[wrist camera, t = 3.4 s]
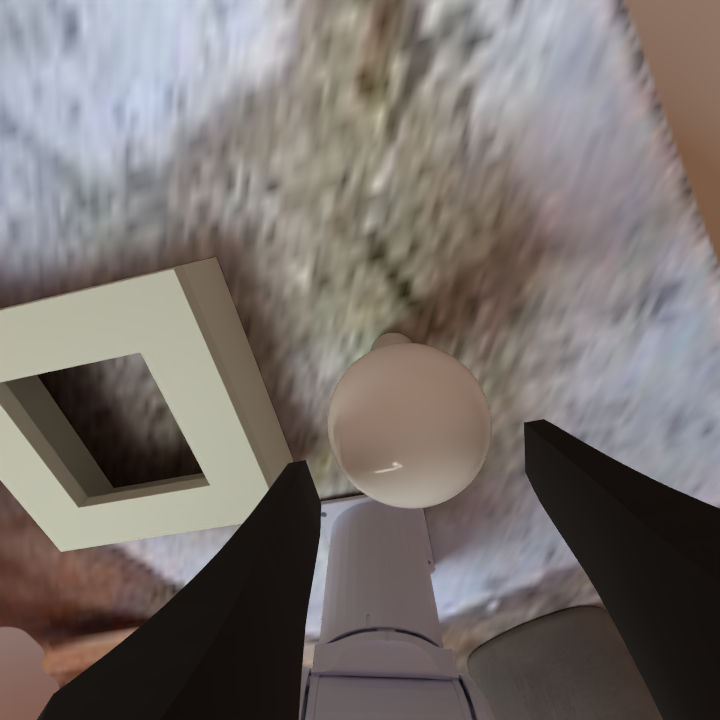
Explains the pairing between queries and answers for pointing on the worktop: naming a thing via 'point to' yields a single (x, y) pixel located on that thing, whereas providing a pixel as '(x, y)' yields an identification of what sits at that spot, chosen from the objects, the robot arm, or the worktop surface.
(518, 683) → the flask
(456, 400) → the lightbulb
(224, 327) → the square bulb holder
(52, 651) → the worktop surface
